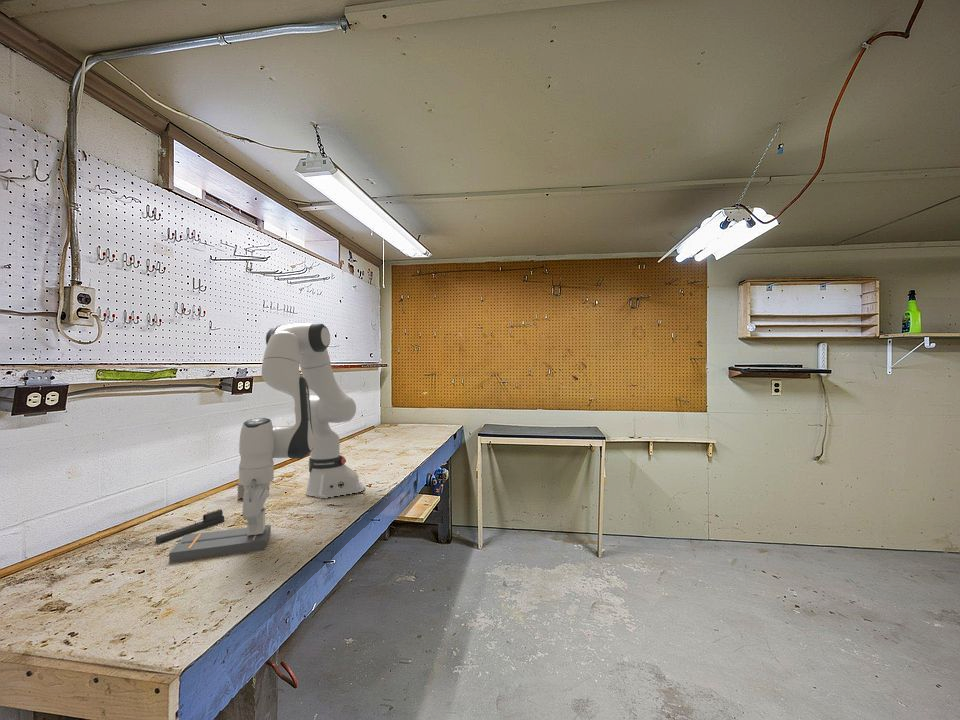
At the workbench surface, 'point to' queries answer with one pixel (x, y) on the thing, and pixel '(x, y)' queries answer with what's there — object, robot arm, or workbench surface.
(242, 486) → the model
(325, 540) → the workbench surface
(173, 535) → the dark grey bar
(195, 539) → the slider console
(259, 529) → the fader cap
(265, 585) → the workbench surface
